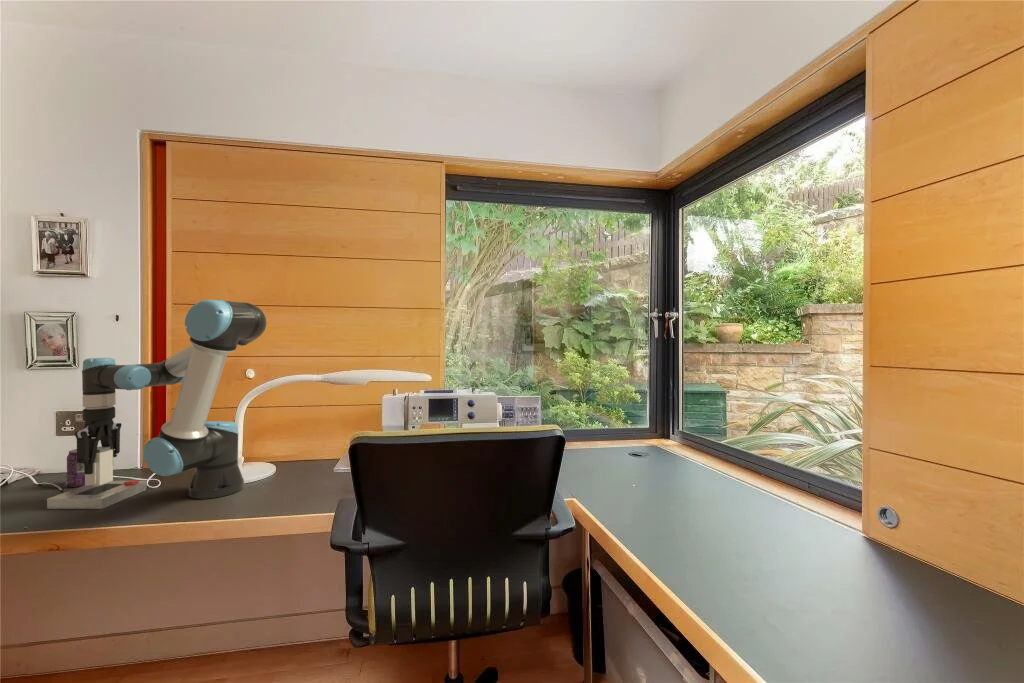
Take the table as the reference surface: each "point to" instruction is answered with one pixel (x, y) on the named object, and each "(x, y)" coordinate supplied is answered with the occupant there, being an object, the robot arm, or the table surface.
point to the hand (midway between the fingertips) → (99, 480)
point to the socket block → (96, 495)
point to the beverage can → (74, 470)
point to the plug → (103, 465)
